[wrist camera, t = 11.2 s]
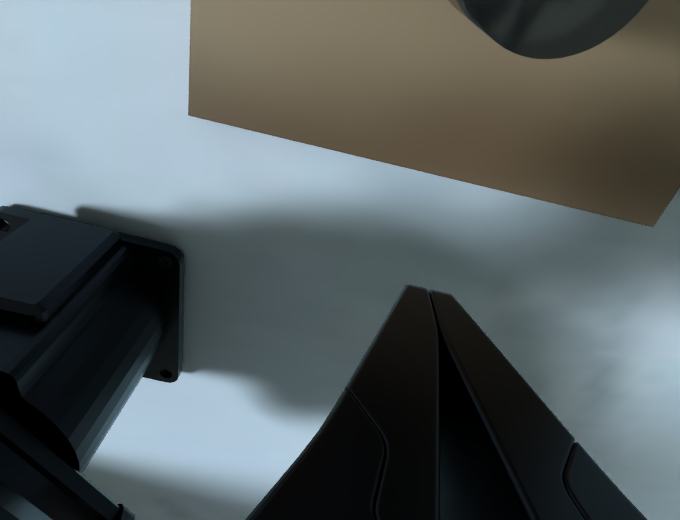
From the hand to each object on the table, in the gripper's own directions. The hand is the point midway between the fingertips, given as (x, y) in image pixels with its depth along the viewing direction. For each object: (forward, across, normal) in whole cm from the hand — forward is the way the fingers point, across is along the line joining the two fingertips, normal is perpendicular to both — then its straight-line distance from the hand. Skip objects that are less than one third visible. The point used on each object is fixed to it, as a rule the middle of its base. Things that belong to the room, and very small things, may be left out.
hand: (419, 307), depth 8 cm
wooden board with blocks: (+6, 0, -15) cm, 16 cm away
